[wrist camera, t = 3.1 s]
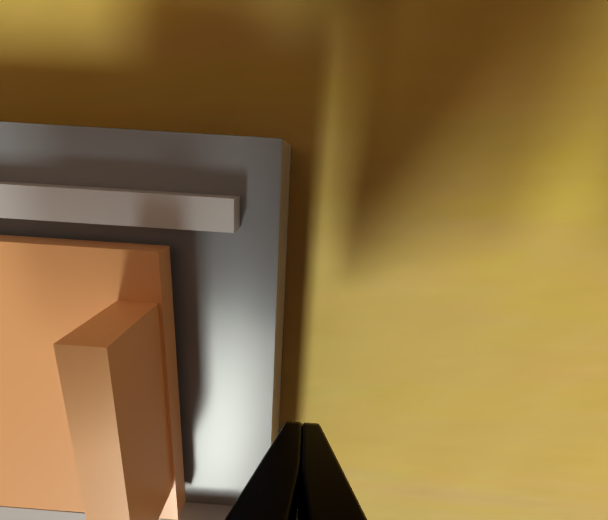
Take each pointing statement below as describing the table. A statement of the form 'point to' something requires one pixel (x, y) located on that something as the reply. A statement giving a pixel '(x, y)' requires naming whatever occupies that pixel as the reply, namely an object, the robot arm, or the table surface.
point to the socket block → (178, 270)
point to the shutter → (89, 379)
